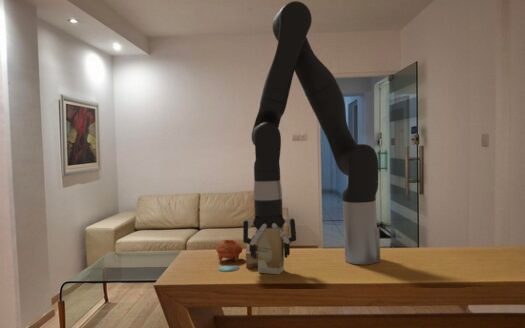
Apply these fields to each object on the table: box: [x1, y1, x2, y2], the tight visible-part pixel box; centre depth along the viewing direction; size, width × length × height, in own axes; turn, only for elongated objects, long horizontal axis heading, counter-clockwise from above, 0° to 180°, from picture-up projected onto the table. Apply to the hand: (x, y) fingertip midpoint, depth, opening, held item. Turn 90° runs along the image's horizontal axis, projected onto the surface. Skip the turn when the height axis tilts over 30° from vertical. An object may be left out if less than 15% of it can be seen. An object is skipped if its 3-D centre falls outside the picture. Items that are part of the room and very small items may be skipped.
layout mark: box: [217, 264, 240, 273], centre depth 108 cm, size 6×6×1 cm
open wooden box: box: [245, 243, 258, 269], centre depth 113 cm, size 8×10×4 cm
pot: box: [215, 239, 243, 263], centre depth 117 cm, size 8×8×7 cm
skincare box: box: [256, 226, 285, 275], centre depth 103 cm, size 6×4×12 cm
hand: (270, 257), depth 103 cm, fingers open, 8 cm apart
